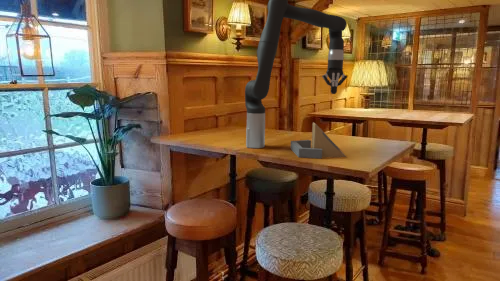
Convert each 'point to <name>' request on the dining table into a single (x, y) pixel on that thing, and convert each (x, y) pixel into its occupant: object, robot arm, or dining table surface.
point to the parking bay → (305, 149)
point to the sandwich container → (324, 143)
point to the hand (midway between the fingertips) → (333, 93)
